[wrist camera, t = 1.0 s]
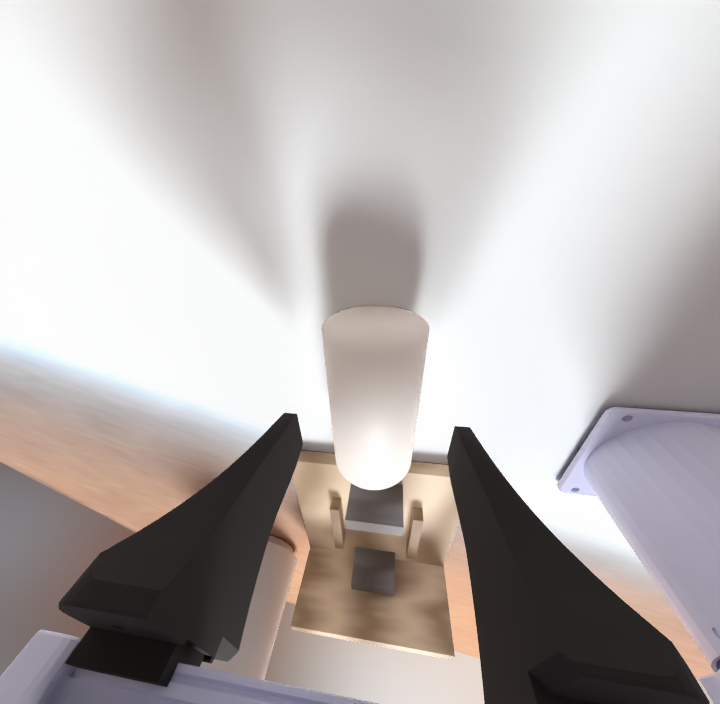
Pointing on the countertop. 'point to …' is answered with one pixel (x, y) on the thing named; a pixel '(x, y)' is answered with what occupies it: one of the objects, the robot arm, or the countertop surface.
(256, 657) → the can
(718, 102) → the countertop surface
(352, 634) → the roll holder
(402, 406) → the cylinder
